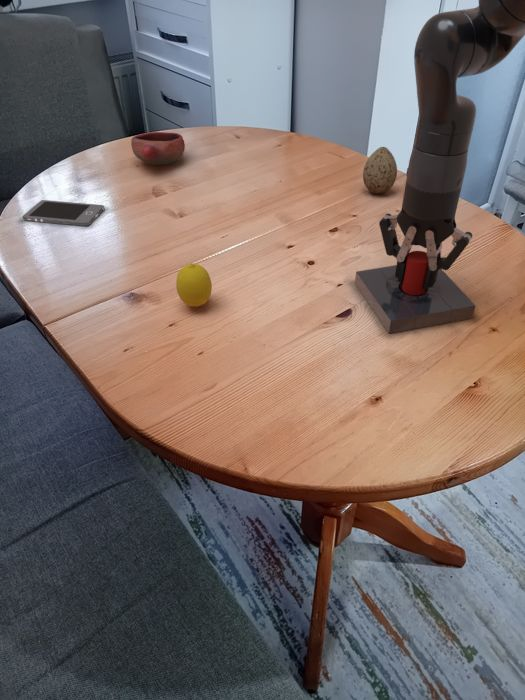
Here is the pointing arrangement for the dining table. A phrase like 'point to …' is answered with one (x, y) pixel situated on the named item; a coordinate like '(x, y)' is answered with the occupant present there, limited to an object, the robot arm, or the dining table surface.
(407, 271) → the stopper
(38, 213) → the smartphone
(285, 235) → the dining table surface
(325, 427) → the dining table surface
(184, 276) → the lemon
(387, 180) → the decorative egg
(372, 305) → the grey square base
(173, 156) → the bowl
